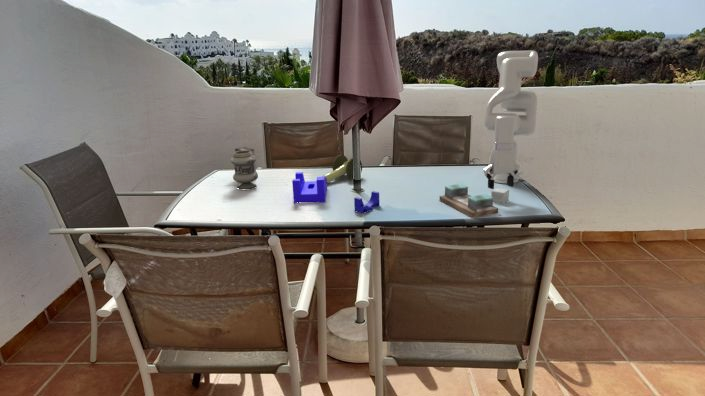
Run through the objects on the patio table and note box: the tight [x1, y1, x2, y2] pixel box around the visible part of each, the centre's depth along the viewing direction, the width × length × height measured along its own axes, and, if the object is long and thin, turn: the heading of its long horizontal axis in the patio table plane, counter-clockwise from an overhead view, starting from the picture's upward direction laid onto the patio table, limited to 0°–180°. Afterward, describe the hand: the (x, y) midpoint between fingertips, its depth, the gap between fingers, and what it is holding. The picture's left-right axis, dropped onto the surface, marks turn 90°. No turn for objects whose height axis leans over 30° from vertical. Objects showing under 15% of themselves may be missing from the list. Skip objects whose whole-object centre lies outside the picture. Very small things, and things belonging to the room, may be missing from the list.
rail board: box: [439, 183, 499, 219], centre depth 191 cm, size 12×24×6 cm, turn 21°
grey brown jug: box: [234, 146, 257, 172], centre depth 245 cm, size 9×6×16 cm
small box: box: [490, 187, 510, 205], centre depth 196 cm, size 6×6×5 cm
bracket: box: [291, 171, 328, 204], centre depth 213 cm, size 21×14×10 cm, turn 0°
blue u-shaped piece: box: [353, 190, 380, 214], centre depth 193 cm, size 12×4×6 cm, turn 136°
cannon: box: [321, 154, 363, 184], centre depth 236 cm, size 25×12×11 cm, turn 135°
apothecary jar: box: [230, 150, 259, 190], centre depth 228 cm, size 12×12×18 cm
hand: (500, 187), depth 194 cm, fingers open, 9 cm apart
